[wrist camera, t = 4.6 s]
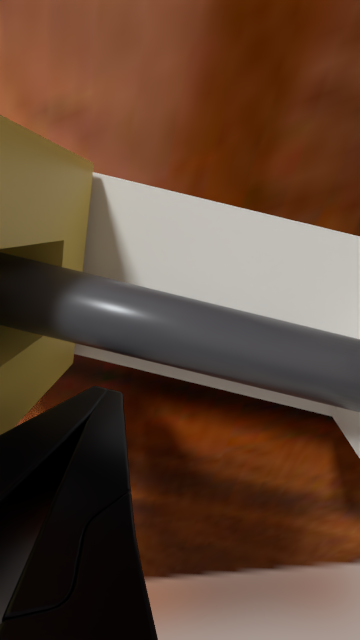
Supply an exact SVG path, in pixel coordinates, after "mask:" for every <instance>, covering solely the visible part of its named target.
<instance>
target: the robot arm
mask: <svg viewBox="0 0 360 640" xmlns="http://www.w3.org/2000/svg"><path fill="white" fill-rule="evenodd" d="M0 640H158V638H157V634H156V629H155V625H154V620H153V616H152V611H151V607H150V602H149V598H148V593H147V589H146V584H145V580H144V575H143V571H142V566H141V561H140V555H139V550H138V545H137V539H136V533H135V524H134V516H133V507H132V496H131V486H130V475H129V463H128V451H127V440H126V428H125V416H124V404H123V394H122V393H121V392H119V391H114V390H108V389H106V388H102V387H98V386H93V387H91V388H89V389H87V390H85V391H83V392H81V393H80V394H78V395H76V396H74V397H72V398H70V399H68V400H66V401H64V402H62V403H60V404H58V405H57V406H55V407H53V408H51V409H49V410H47V411H45V412H43V413H41V414H39V415H37V416H35V417H33V418H32V419H30V420H28V421H26V422H24V423H22V424H20V425H18V426H16V427H14V428H12V429H10V430H8V431H7V432H5V433H3V434H1V435H0Z"/></svg>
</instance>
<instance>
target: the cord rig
mask: <svg viewBox="0 0 360 640" xmlns="http://www.w3.org/2000/svg"><path fill="white" fill-rule="evenodd" d="M0 325H2V326H6V327H10V328H14V329H18V330H22V331H27V332H31V333H35V334H39V335H43V336H47V337H51V338H55V339H59V340H64V341H68V342H72V343H75V349H74V354H77V355H81V356H85V357H89V358H93V359H97V360H102V361H106V362H110V363H114V364H118V365H122V366H126V367H130V368H135V369H139V370H143V371H147V372H151V373H155V374H159V375H163V376H167V377H172V378H176V379H180V380H184V381H188V382H192V383H196V384H200V385H205V386H209V387H213V388H217V389H221V390H225V391H229V392H233V393H237V394H242V395H246V396H250V397H254V398H258V399H262V400H266V401H270V402H274V403H279V404H283V405H287V406H291V407H295V408H299V409H303V410H307V411H312V412H316V413H320V414H324V415H328V416H332V417H333V419H334V420H335V422H336V423H337V425H338V426H339V428H340V429H341V431H342V432H343V434H344V435H345V437H346V438H347V440H348V442H349V443H350V445H351V446H352V448H353V449H354V451H355V452H356V454H357V455H358V457H359V458H360V237H359V236H355V235H351V234H347V233H343V232H339V231H334V230H330V229H326V228H322V227H318V226H314V225H310V224H306V223H301V222H297V221H293V220H289V219H285V218H281V217H277V216H272V215H268V214H264V213H260V212H256V211H252V210H248V209H243V208H239V207H235V206H231V205H227V204H223V203H219V202H214V201H210V200H206V199H202V198H198V197H194V196H190V195H185V194H181V193H177V192H173V191H169V190H165V189H161V188H156V187H152V186H148V185H144V184H140V183H136V182H132V181H128V180H123V179H119V178H115V177H111V176H107V175H103V174H99V173H94V172H93V177H92V186H91V196H90V205H89V215H88V224H87V234H86V244H85V253H84V263H83V272H80V271H76V270H72V269H68V268H64V267H60V266H56V265H51V264H47V263H43V262H39V261H35V260H31V259H27V258H23V257H18V256H14V255H10V254H6V253H2V252H0Z"/></svg>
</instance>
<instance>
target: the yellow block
mask: <svg viewBox="0 0 360 640" xmlns="http://www.w3.org/2000/svg"><path fill="white" fill-rule="evenodd" d="M93 167H94V163H92V162H90V161H88V160H86V159H84V158H82V157H80V156H79V155H77V154H75V153H73V152H71V151H69V150H67V149H65V148H63V147H61V146H59V145H57V144H55V143H53V142H52V141H50V140H48V139H46V138H44V137H42V136H40V135H38V134H36V133H34V132H32V131H30V130H28V129H26V128H25V127H23V126H21V125H19V124H17V123H15V122H13V121H11V120H9V119H7V118H5V117H3V116H1V115H0V252H2V253H6V254H10V255H14V256H18V257H23V258H27V259H31V260H35V261H39V262H43V263H47V264H51V265H56V266H60V267H64V268H68V269H72V270H76V271H80V272H83V263H84V253H85V244H86V234H87V224H88V215H89V205H90V196H91V186H92V177H93ZM74 349H75V343H72V342H68V341H64V340H59V339H55V338H51V337H47V336H43V335H39V334H35V333H31V332H27V331H22V330H18V329H14V328H10V327H6V326H2V325H0V435H1V434H3V433H5V432H7V431H8V430H10V429H12V428H14V427H15V426H16V424H17V423H18V422H19V421H20V420H21V419H22V418H23V417H24V416H25V415H26V414H27V413H28V411H29V410H30V409H31V408H32V407H33V406H34V405H35V404H36V403H37V402H38V401H39V400H40V398H41V397H42V396H43V395H44V394H45V393H46V392H47V391H48V390H49V389H50V388H51V387H52V385H53V384H54V383H55V382H56V381H57V380H58V379H59V378H60V377H61V376H62V375H63V374H64V372H65V371H66V370H67V369H68V368H69V367H70V366H71V365H72V364H73V359H74Z"/></svg>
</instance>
